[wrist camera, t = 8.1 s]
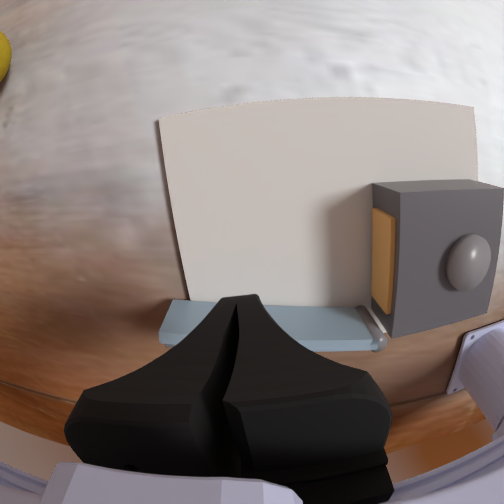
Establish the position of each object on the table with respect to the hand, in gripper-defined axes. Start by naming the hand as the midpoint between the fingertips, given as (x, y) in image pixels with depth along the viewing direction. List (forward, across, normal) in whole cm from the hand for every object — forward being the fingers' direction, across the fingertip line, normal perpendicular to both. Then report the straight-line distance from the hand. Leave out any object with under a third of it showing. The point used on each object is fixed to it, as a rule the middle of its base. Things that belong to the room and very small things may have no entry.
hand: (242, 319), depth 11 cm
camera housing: (+9, -13, +2) cm, 16 cm away
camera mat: (+9, -7, 0) cm, 12 cm away
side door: (+9, -1, +5) cm, 10 cm away
